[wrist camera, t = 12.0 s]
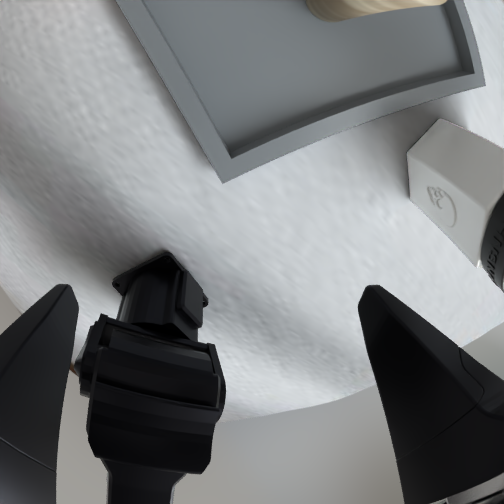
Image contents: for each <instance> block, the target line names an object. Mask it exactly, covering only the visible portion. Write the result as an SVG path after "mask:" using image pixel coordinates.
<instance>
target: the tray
mask: <svg viewBox="0 0 504 504" xmlns="http://www.w3.org/2000/svg"><path fill="white" fill-rule="evenodd" d="M116 2H117V4H118V5H119V7H120V9H121V10H122V12H123V14H124V15H125V17H126V19H127V21H128V22H129V24H130V26H131V27H132V29H133V31H134V32H135V34H136V36H137V37H138V39H139V41H140V42H141V44H142V46H143V48H144V49H145V51H146V53H147V54H148V56H149V58H150V59H151V61H152V63H153V65H154V66H155V68H156V70H157V71H158V73H159V75H160V77H161V78H162V80H163V82H164V83H165V85H166V87H167V89H168V90H169V92H170V94H171V95H172V97H173V99H174V101H175V102H176V104H177V106H178V107H179V109H180V111H181V113H182V114H183V116H184V118H185V120H186V121H187V123H188V125H189V126H190V128H191V130H192V132H193V133H194V135H195V137H196V139H197V140H198V142H199V144H200V145H201V147H202V149H203V151H204V152H205V154H206V156H207V158H208V159H209V161H210V163H211V165H212V166H213V168H214V170H215V172H216V173H217V175H218V177H219V179H220V180H221V182H222V184H223V183H225V182H227V181H229V180H231V179H234V178H236V177H238V176H240V175H242V174H244V173H246V172H248V171H250V170H253V169H255V168H257V167H259V166H261V165H263V164H266V163H268V162H270V161H272V160H275V159H277V158H279V157H281V156H284V155H286V154H288V153H291V152H293V151H295V150H298V149H300V148H302V147H305V146H307V145H309V144H312V143H314V142H317V141H319V140H322V139H324V138H327V137H329V136H332V135H334V134H337V133H339V132H342V131H344V130H347V129H350V128H352V127H355V126H358V125H360V124H363V123H366V122H369V121H371V120H374V119H377V118H380V117H383V116H385V115H388V114H391V113H394V112H397V111H400V110H403V109H406V108H409V107H412V106H415V105H419V104H422V103H425V102H428V101H432V100H435V99H438V98H442V97H445V96H449V95H452V94H456V93H460V92H463V91H467V90H471V89H475V88H479V87H483V86H486V84H485V78H484V73H483V68H482V63H481V59H480V54H479V50H478V46H477V42H476V39H475V35H474V32H473V28H472V25H471V22H470V19H469V15H468V13H467V10H466V7H465V4H464V1H463V0H447V1H446V2H445V3H443V4H441V5H434V6H422V7H413V8H405V9H398V10H392V11H386V12H380V13H375V14H370V15H365V16H360V17H356V18H352V19H348V20H344V21H340V22H326V21H323V20H321V19H319V18H317V17H316V16H314V15H313V14H312V13H311V11H310V10H309V8H308V7H307V4H306V0H116Z"/></svg>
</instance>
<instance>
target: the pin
mask: <svg viewBox="0 0 504 504" xmlns="http://www.w3.org/2000/svg"><path fill="white" fill-rule="evenodd" d="M446 1H447V0H306V4H307V7H308V8H309V10H310V11H311V13H312V14H313V15H314V16H316V17H317V18H319V19H321V20H323V21H326V22H340V21H344V20H348V19H352V18H356V17H360V16H365V15H370V14H375V13H380V12H386V11H392V10H398V9H405V8H413V7H422V6H434V5H441V4H443V3H445V2H446Z"/></svg>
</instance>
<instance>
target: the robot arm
mask: <svg viewBox="0 0 504 504" xmlns="http://www.w3.org/2000/svg"><path fill="white" fill-rule="evenodd" d="M165 258H169V260H166V259H165ZM117 283H119V284H117ZM112 285H113V287H114V288H115V289H116V290H117V291H118V292H119V293H120V294H121V295H122V296H123V297H122V300H121V304H120V307H119V311H118V314H117V318H116V319H113V318H110V317H108V315H105V314H102V313H101V315H100V317H99V320H98V321H95V324H94V325H93V326H90V329H89V332H88V335H87V339H86V341H85V344H84V346H83V348H82V350H81V351H80V353H79V355H78V357H77V359H76V361H75V365H74V369H75V371H76V373H77V375H78V376H79V384H80V395H82V396H85V397H88V398H90V400H89V407H88V415H87V424H86V430H87V434H88V441H89V444H90V447H91V449H92V451H93V454H94V456H95V457H97V458H100V459H101V461H102V462H103V464H104V466H105V468H106V469H107V471H108V480H107V501H106V504H173V496H174V489H175V485H176V484H177V483H178V482H179V481H180V480H181V479H182V478H183V477H184V476H185V475H186V474H187V473H189V474H202V473H203V472H204V470H205V469H206V467H207V466H208V464H209V463H210V460H211V449H212V439H213V433H214V428H215V424H216V422H217V421H218V420H219V419H220V417H221V415H222V412H223V409H224V405H225V398H226V384H225V379H224V376H223V372H222V369H221V365H220V362H219V358H218V355H217V351H216V347H215V344H211V343H207V344H205V343H201V342H198V328H200V327H202V324H203V308H204V307H206V306H207V305H208V298H207V297H206V296H205V294H204V293H203V289H202V288H201V287H200V285H199V284H198V283H197V282H196V281H195V279H194V278H193V277H192V276H191V274H190V273H189V272H188V271H187V270H184V268H183V267H182V266H181V265H180V263H179V262H178V261H177V260H176V258H175V257H174V256H173V255H172V254H171V253H169V252H165V253H163V254H161V255H159V256H157V257H155V258H153V259H151V260H149V261H147V262H145V263H143V264H141V265H139V266H137V267H135V268H133V269H131V270H129V271H127V272H125V273H123V274H121V275H120V276H118V277H116V278H114V279H113V282H112ZM203 301H204V302H203ZM78 313H79V306H78V302H77V300H76V297H75V295H74V292H73V290H72V287H71V286H70V285H68V284H58V285H56V286H55V287H54V288H52V289H51V290H50V291H49V292H48V293H46V294H45V295H44V296H43V297H42V298H41V299H39V300H38V301H37V302H36V303H35V304H34V305H32V306H31V307H30V308H29V309H28V310H27V311H26V312H25V313H23V314H22V315H21V316H20V317H19V318H18V319H17V320H16V321H15V322H14V323H12V325H10V326H9V327H8V328H7V329H6V330H5V331H4V332H3V333H2V334H1V335H0V504H56V469H57V468H56V467H57V452H58V440H59V430H60V422H61V414H62V407H63V401H64V394H65V389H66V383H67V378H68V373H69V368H70V363H71V358H72V353H73V346H74V339H75V331H76V325H77V319H78ZM358 313H359V317H360V322H361V326H362V331H363V336H364V340H365V345H366V349H367V353H368V357H369V360H370V363H371V366H372V370H373V373H374V376H375V380H376V383H377V387H378V390H379V394H380V397H381V401H382V404H383V408H384V412H385V415H386V419H387V423H388V427H389V431H390V435H391V439H392V444H393V448H394V452H395V457H396V462H397V467H398V472H399V476H400V481H401V487H402V492H403V497H404V502H405V504H430V503H433V502H436V501H439V500H442V499H445V500H444V501H442V502H440V503H439V504H504V380H502V379H501V378H499V377H498V376H497V375H495V374H494V373H493V372H491V371H490V370H488V369H487V368H486V367H484V366H483V365H482V364H480V363H479V362H477V361H476V360H475V359H474V358H473V357H471V356H470V355H469V354H468V353H466V352H465V351H464V350H463V349H462V348H460V347H458V345H457V344H455V343H454V342H453V341H452V340H450V339H449V338H448V337H447V336H445V335H444V334H443V333H442V332H440V331H439V330H438V329H437V328H435V327H434V326H433V325H431V324H430V323H429V322H428V321H426V320H425V319H424V318H422V317H421V316H420V315H419V314H417V313H416V312H415V311H413V310H412V309H411V308H409V307H408V306H407V305H405V304H404V303H403V302H402V301H400V300H399V299H398V298H396V297H395V296H394V295H392V294H391V293H389V292H388V291H387V290H385V289H384V288H383V287H381V286H380V285H368V286H367V287H366V288H365V290H364V292H363V294H362V297H361V299H360V301H359V304H358Z"/></svg>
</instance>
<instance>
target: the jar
mask: <svg viewBox="0 0 504 504" xmlns="http://www.w3.org/2000/svg"><path fill="white" fill-rule="evenodd" d="M407 163H408V174H409V188H410V201H411V202H412V203H413V204H414V205H415V206H416V207H418V208H419V209H420V210H421V211H422V212H423V213H424V214H425V215H426V216H427V217H428V218H429V219H430V220H431V221H432V222H433V223H434V224H435V225H436V226H437V227H438V228H439V229H440V230H441V231H442V232H443V233H444V234H445V235H446V236H447V237H448V238H449V239H450V240H451V241H452V242H453V243H454V244H455V245H456V246H457V247H458V248H459V249H460V251H461V252H462V253H463V254H464V255H465V256H466V257H467V258H468V259H469V261H470V262H471V263H472V264H473V265H474V266H475V267H476V268H484V270H485V271H486V272H487V273H488V274H489V275H488V276H489V277H490V278H491V280H492V281H493V282H494V283H495V284H496V285H497V286H498V287H499V288H500V289H501V290H502V291H503V292H504V148H502V147H500V146H499V145H497V144H495V143H493V142H491V141H489V140H487V139H485V138H483V137H481V136H479V135H477V134H475V133H473V132H471V131H469V130H467V129H465V128H463V127H460V126H458V125H456V124H454V123H451V122H449V121H447V120H444V119H442V118H439V119H438V120H437V121H436V122H435V123H434V124H433V125H432V126H431V128H430V129H429V130H428V131H427V132H426V133H425V134H424V135H423V136H422V137H421V138H420V139H419V140H418V141H417V142H416V143H415V144H414V146H413V147H412V148H411V149H410V150H409V151H408V152H407Z"/></svg>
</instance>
